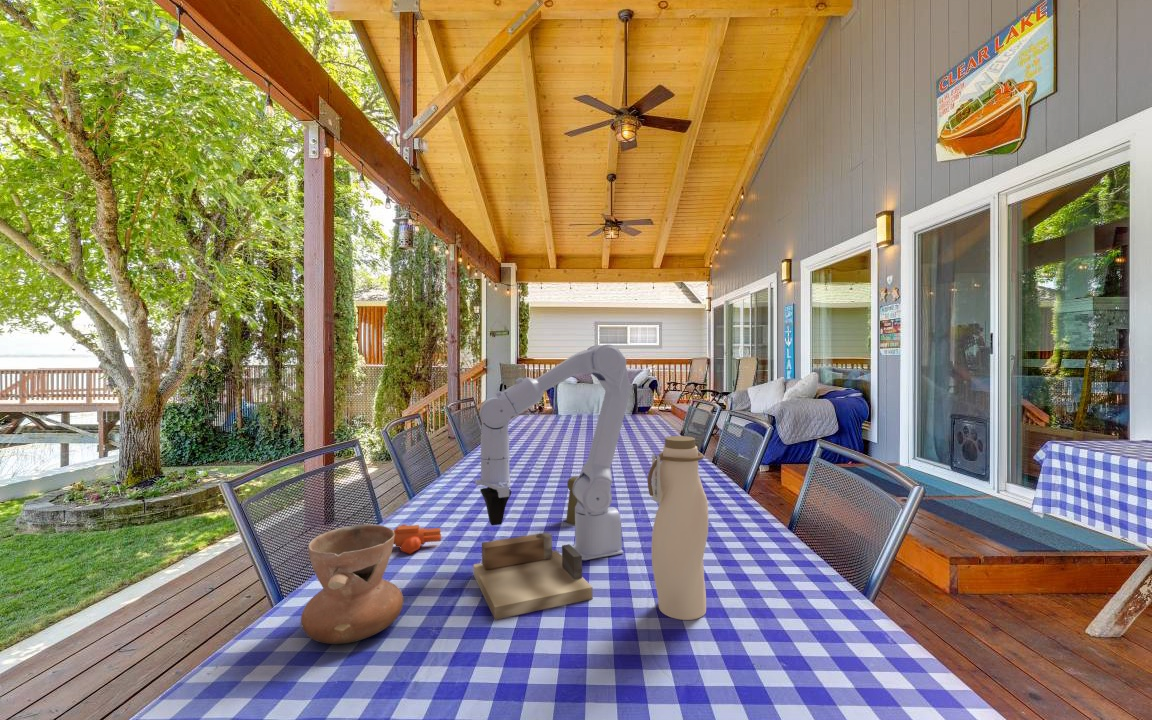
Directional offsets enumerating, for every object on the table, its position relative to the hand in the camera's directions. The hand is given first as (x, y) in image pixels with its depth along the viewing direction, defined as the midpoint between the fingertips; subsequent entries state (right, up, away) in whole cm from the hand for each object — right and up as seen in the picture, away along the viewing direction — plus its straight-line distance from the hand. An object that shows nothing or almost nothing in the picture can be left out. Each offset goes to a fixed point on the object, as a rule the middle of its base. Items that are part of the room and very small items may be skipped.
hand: (495, 523), depth 102 cm
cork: (+17, -8, +25) cm, 31 cm away
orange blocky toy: (-20, -8, +8) cm, 23 cm away
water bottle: (+33, -8, -20) cm, 39 cm away
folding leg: (+5, -5, -5) cm, 9 cm away
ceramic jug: (-18, -9, -24) cm, 31 cm away
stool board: (+8, -8, -11) cm, 15 cm away
